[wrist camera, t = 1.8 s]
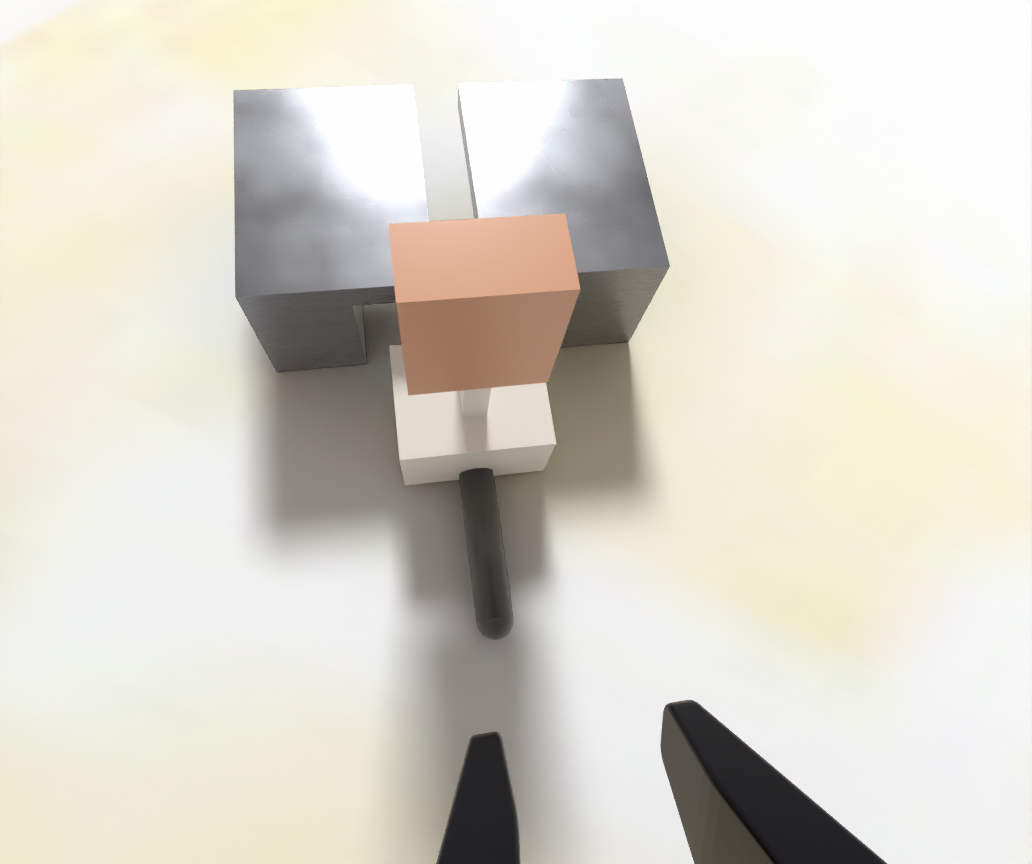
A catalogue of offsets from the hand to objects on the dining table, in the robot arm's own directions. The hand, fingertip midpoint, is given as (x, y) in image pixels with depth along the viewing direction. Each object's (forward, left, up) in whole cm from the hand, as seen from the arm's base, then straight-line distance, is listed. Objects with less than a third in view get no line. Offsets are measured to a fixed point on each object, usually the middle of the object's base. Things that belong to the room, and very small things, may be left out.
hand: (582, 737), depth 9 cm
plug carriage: (+2, -6, -13) cm, 15 cm away
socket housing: (+5, -16, -14) cm, 21 cm away
